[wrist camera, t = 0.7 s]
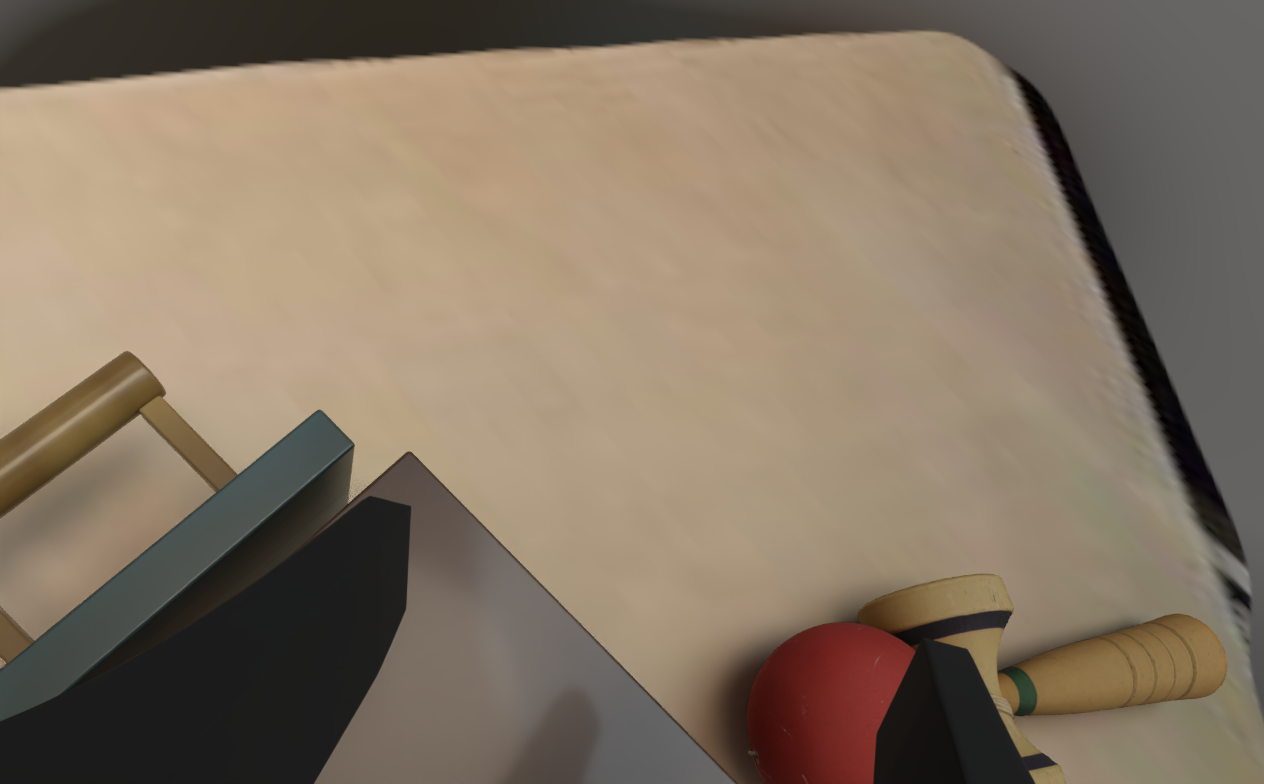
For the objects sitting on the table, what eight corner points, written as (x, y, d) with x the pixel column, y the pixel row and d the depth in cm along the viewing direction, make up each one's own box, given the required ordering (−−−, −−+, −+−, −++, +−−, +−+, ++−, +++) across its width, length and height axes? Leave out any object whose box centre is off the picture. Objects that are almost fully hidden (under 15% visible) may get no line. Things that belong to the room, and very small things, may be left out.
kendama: (1088, 541, 39) (698, 595, 31) (1248, 541, 33) (822, 608, 25) (1115, 741, 38) (722, 851, 30) (1284, 776, 32) (855, 924, 24)
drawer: (-128, 616, 24) (-291, 579, 18) (209, 365, 29) (176, 261, 22) (347, 1104, 24) (356, 1247, 18) (614, 777, 29) (701, 795, 22)
